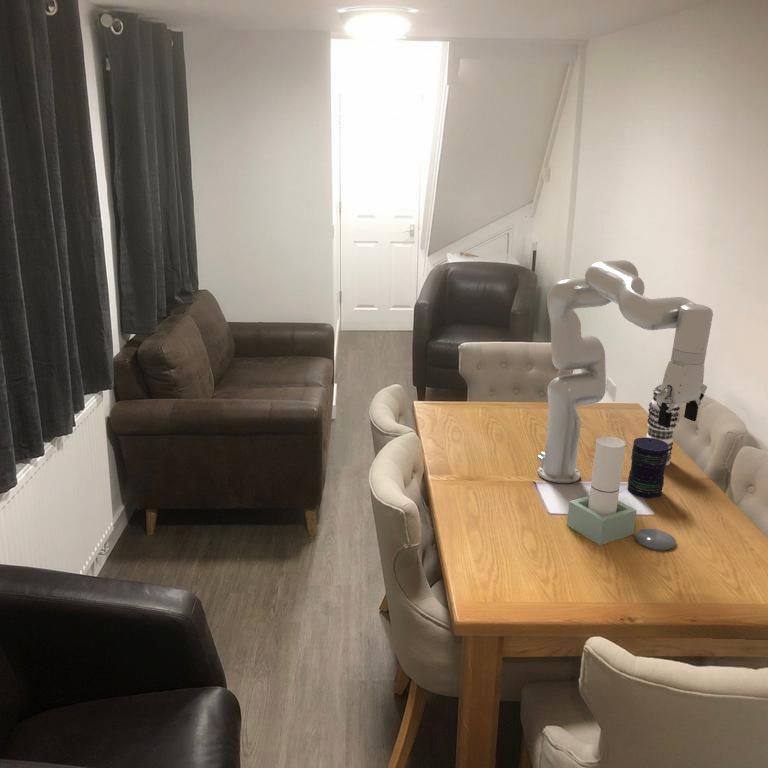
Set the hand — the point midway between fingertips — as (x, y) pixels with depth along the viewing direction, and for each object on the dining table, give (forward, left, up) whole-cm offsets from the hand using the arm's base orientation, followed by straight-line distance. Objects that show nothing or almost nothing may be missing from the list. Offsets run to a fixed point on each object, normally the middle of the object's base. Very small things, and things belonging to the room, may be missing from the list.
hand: (676, 422), depth 193 cm
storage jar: (-21, +18, -32) cm, 43 cm away
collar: (-10, -11, -32) cm, 35 cm away
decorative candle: (-35, +39, -32) cm, 62 cm away
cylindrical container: (-10, -11, -32) cm, 35 cm away
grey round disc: (+1, -2, -32) cm, 32 cm away
